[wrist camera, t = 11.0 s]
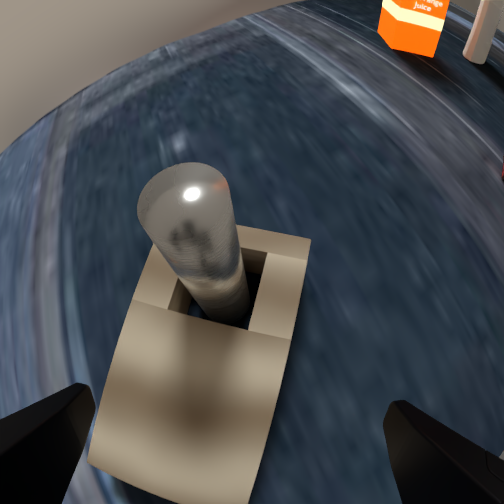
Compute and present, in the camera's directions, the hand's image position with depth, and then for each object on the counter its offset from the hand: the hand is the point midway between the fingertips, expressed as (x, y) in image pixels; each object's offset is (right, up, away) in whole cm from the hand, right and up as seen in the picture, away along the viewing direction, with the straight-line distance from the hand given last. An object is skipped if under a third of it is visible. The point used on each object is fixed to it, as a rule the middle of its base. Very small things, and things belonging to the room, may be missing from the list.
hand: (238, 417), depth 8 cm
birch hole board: (-3, -3, +12) cm, 13 cm away
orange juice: (+28, +42, +33) cm, 61 cm away
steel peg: (-2, +1, +14) cm, 15 cm away
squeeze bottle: (+47, +46, +34) cm, 74 cm away
